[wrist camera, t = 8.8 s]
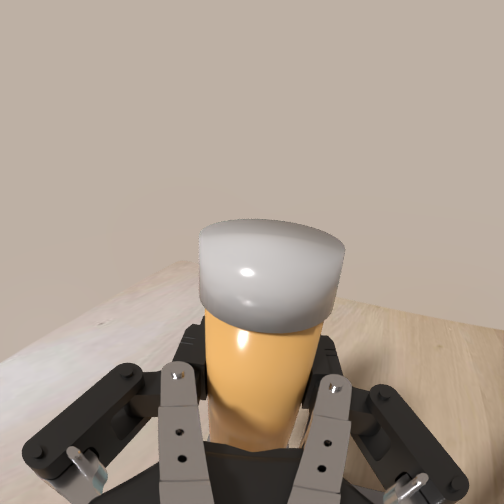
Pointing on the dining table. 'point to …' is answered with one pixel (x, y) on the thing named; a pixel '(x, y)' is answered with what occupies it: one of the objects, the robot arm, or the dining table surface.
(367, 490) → the frame
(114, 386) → the robot arm
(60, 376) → the dining table surface
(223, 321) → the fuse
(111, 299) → the dining table surface
